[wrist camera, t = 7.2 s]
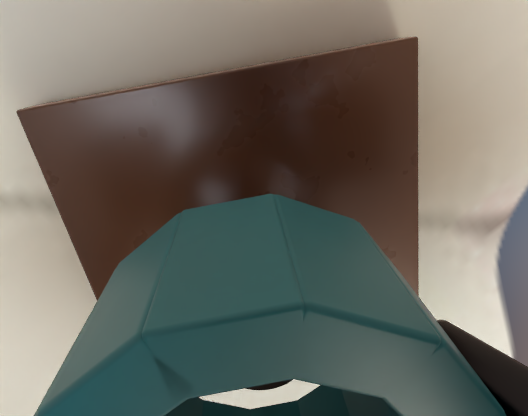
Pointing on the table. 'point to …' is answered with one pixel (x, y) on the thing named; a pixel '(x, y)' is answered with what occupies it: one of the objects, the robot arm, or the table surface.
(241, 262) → the tape roll
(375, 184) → the peg stand
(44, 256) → the table surface
